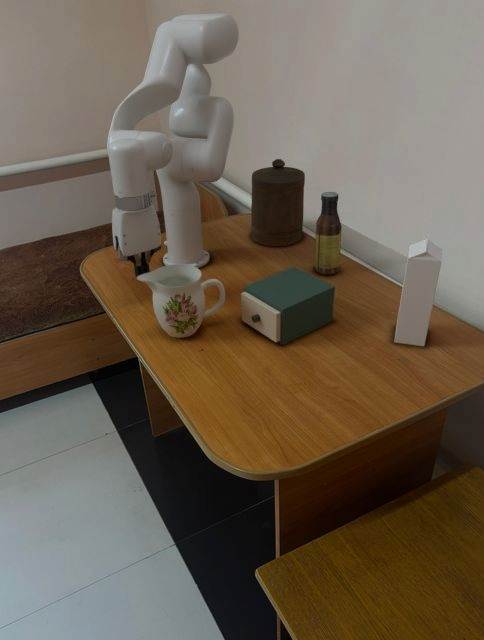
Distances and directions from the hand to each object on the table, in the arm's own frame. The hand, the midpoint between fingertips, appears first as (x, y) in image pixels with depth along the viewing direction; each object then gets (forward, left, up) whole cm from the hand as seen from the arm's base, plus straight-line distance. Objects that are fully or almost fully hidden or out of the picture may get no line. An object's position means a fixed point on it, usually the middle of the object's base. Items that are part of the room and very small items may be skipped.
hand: (143, 278), depth 125 cm
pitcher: (+17, +1, -6) cm, 18 cm away
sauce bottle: (+17, +44, -6) cm, 47 cm away
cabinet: (+29, +20, -6) cm, 35 cm away
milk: (+50, +35, -6) cm, 61 cm away
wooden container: (-8, +49, -6) cm, 50 cm away
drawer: (+29, +17, -5) cm, 34 cm away
